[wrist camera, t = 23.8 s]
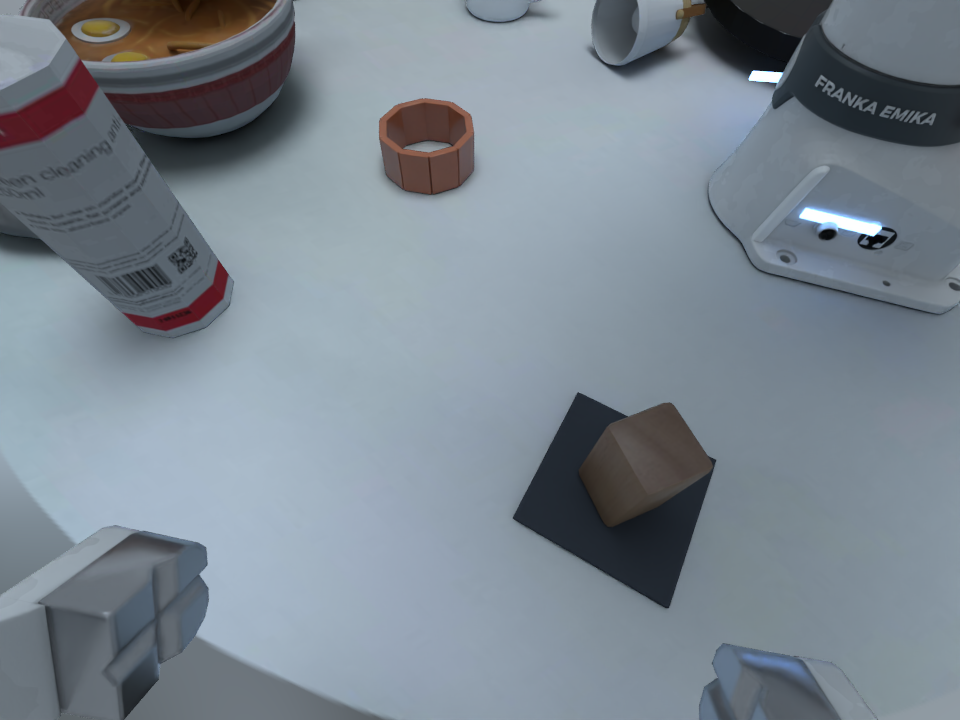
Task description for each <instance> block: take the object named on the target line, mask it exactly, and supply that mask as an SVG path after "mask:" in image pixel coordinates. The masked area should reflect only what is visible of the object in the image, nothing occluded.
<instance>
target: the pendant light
mask: <svg viewBox="0 0 960 720" xmlns="http://www.w3.org/2000/svg"><path fill="white" fill-rule="evenodd" d="M706 8H708V6H706V4H694V5H691V0H597V1H596V3H595V6H594V10H593V15H592V23H591V28H592V40H593V44H594V47H595V50H596V52H597V54H598V55H599V57H600V58H601V59H602V60H603V61H604V62H606V63H608V64H611V65H617V66H621V65H625V64H627V63H629V62H631V61H633V60H636V59H638V58H640V57H642V56H644V55H646V54H648V53H651V52H653V51H655V50H657V49H659V48H661V47H663V46H665V45H667V44H669V43H671V42H672V41H674V40H675V39H677V38H678V37H679V36H681V34H682V33H683V32H684V30H685V29H686V27H687V25H688V22H689V19H690V17H693V16H698V15H702V14H705V9H706Z"/></svg>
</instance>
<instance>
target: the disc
mask: <svg viewBox="0 0 960 720" xmlns="http://www.w3.org/2000/svg"><path fill="white" fill-rule="evenodd" d="M704 1H705V3H706V4H707V6H708V8H709V9H710V11H711V13H712V14H713V16H714V17H715V18H716V19H717V21H718V22H719V23H720V24H721V25H722V26H723V27H724V28H725V29H726V30H727V31H728V32H729V33H731V34H732V35H734V36H735V37H736V38H738V39H739V40H741V41H742V42H744V43H745V44H746V45H748V46H750V47H752V48H754V49H756V50H758V51H760V52H762V53H764V54H766V55H768V56H770V57H773V58H776V59H779V60H782V61H785V62H789V60H790V59H791V57H792V55H793V53H794V52H795V50H796V48H797V46H798V45H799V43H800V41H801V39H802V38H803V36H804V34H807V32H808V30H809V29H810V27H811V25H812V24H813V22H814V21H815V19H816V18H817V16H818V15H819V14H821V13H822V12H824V11H825V10H827V9H828V8H829V6H830V4H831V3H832V1H833V0H704Z"/></svg>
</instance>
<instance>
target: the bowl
mask: <svg viewBox="0 0 960 720" xmlns="http://www.w3.org/2000/svg"><path fill="white" fill-rule="evenodd" d="M18 16H26V17H33V18H41V19H49V20H50V21H51V22H52V23H53V24H54V25H55V27H56V28H57V29H58V30H59V31H60V32H61V33H62V34H63V35H64V37H65V38H66V39H67V40H68V42H69V43H70V45H71V46H72V48H73V49H74V51H75V52H76V54H77V55H78V56H79V58H80V59H81V61H82V62H83V64H84V65H85V67H86V68H87V70H88V71H89V72H90V74H91V75H92V77H93V78H94V80H95V81H96V83H97V84H98V85H99V87H100V88H101V90H102V91H103V93H104V94H105V96H106V97H107V99H108V100H109V101H110V103H111V104H112V106H113V107H114V109H115V110H116V112H117V113H118V115H119V116H120V117H121V119H122V120H123V122H124V123H125V124H128V125H130V126H133V127H136V128H138V129H141V130H143V131H146V132H149V133H153V134H158V135H163V136H172V137H182V138H201V137H210V136H215V135H220V134H224V133H227V132H230V131H233V130H235V129H238V128H240V127H242V126H244V125H246V124H248V123H249V122H251V121H253V120H254V119H255V118H256V117H258V116H259V115H260V114H261V113H262V112H263V111H265V110H266V109H267V108H268V107H269V106H270V105H271V104H272V103H273V101H274V100H275V99H276V98H277V97H278V95H279V93H280V90H281V88H282V86H283V84H284V82H285V80H286V78H287V76H288V73H289V71H290V67H291V62H292V57H293V52H294V45H295V22H294V16H295V12H294V6H293V1H292V0H27V1H26V2H25V3H24V5H23V6H22V7H21V9H20V11H19V14H18Z"/></svg>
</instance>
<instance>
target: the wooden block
mask: <svg viewBox="0 0 960 720" xmlns="http://www.w3.org/2000/svg"><path fill="white" fill-rule="evenodd" d="M712 468H713V465H712V462H711V460H710V459H709V457H708V456H707V454H706V453H705V451H704V450H703V448H702V447H701V445H700V444H699V442H698V441H697V439H696V438H695V436H694V435H693V433H692V432H691V430H690V429H689V427H688V426H687V424H686V423H685V421H684V420H683V418H682V417H681V415H680V414H679V412H678V411H677V409H676V408H675V406H674V405H673V404H672V403H670V402H669V403H662V404H660V405H657V406H654V407H652V408H649V409H647V410H644V411H642V412H639V413H636V414H634V415H631V416H629V417H626V418H624V419H621V420H619V421H616V422H613V423H611V424H609V426H608V427H607V428H606V429H605V431H604V432H603V434H602V435H601V437H600V438H599V440H598V441H597V443H596V444H595V446H594V447H593V449H592V450H591V452H590V453H589V455H588V456H587V458H586V460H585V461H584V463H583V464H582V466H581V467H580V469H579V475H580V477H581V479H582V481H583V483H584V485H585V487H586V489H587V491H588V493H589V495H590V497H591V499H592V501H593V503H594V505H595V507H596V509H597V511H598V513H599V515H600V517H601V519H602V520H603V522H604V524H605V525H606V526H607V527H614V526H616V525H618V524H620V523H623V522H625V521H627V520H629V519H632V518H634V517H636V516H638V515H641V514H643V513H645V512H648V511H650V510H652V509H654V508H657V507H659V506H660V505H662V504H663V503H665V502H666V501H667V500H669V499H670V498H672V497H673V496H675V495H676V494H678V493H679V492H681V491H682V490H684V489H685V488H687V487H688V486H690V485H691V484H693V483H694V482H696V481H697V480H699V479H700V478H702V477H703V476H705V475H706V474H708V473H709V472H710V471H711V469H712Z"/></svg>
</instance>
